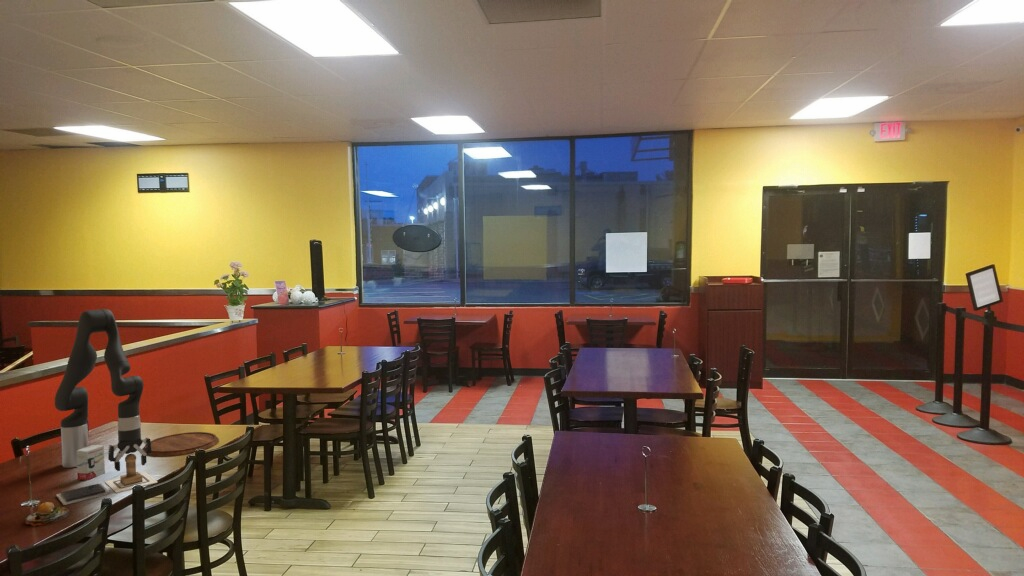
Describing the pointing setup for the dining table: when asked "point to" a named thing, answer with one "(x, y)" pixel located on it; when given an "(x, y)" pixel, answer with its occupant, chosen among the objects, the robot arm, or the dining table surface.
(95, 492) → the ink pad
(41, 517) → the burger
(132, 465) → the stamp
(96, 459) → the ink box
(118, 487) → the paper sheet
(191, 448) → the cutting board
